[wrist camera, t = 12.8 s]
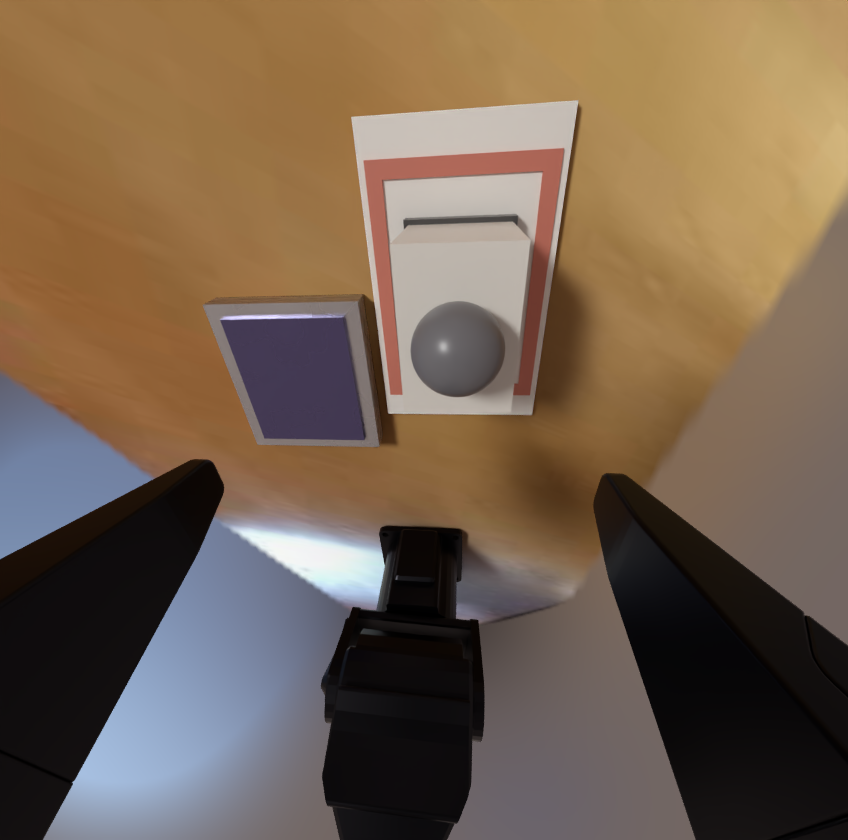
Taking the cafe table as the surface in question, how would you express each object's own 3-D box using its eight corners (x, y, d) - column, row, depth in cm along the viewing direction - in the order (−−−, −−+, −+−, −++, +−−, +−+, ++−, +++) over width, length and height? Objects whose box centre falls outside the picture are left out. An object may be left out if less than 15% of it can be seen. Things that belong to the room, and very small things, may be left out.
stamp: (515, 213, 16) (555, 247, 9) (502, 358, 19) (524, 458, 13) (405, 218, 16) (364, 253, 9) (414, 358, 20) (389, 455, 13)
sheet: (531, 412, 22) (532, 416, 21) (388, 410, 22) (387, 414, 22) (576, 101, 14) (579, 100, 13) (353, 117, 14) (350, 116, 14)
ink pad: (382, 435, 24) (378, 449, 22) (265, 433, 24) (255, 447, 23) (363, 294, 18) (356, 302, 17) (216, 297, 19) (199, 306, 18)
